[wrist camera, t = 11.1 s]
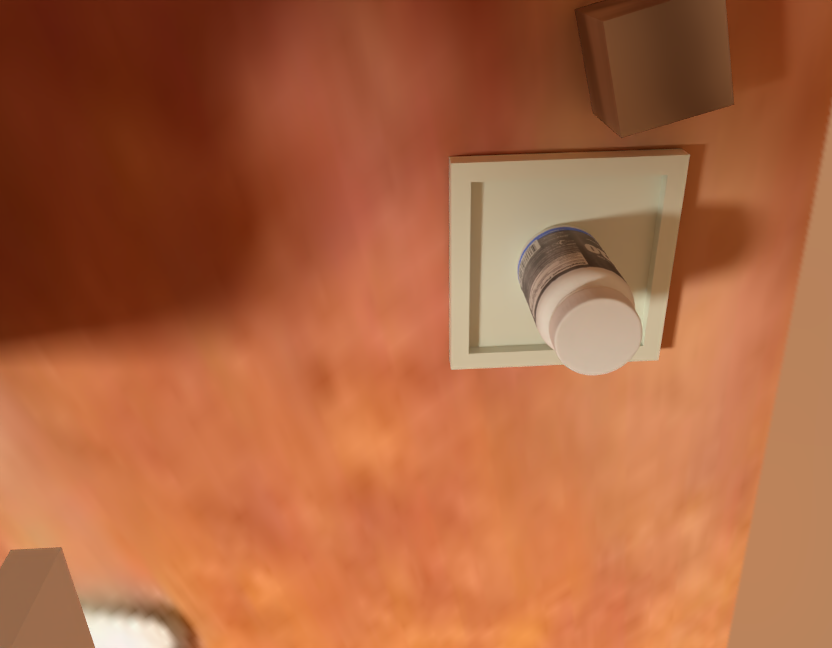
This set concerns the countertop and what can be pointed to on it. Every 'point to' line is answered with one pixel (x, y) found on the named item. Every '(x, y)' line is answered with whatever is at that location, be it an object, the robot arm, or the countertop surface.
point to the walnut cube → (655, 61)
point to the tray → (546, 207)
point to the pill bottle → (579, 300)
